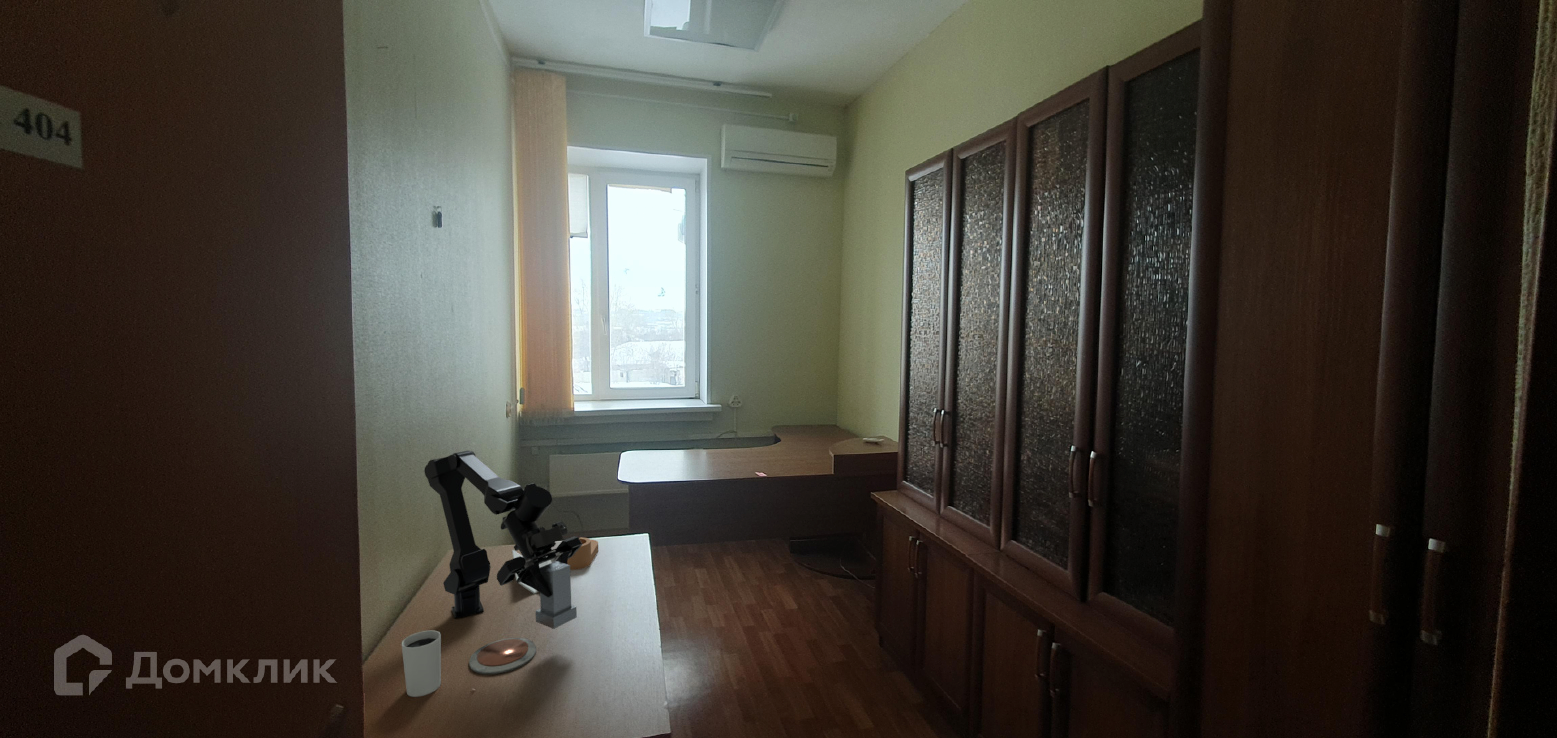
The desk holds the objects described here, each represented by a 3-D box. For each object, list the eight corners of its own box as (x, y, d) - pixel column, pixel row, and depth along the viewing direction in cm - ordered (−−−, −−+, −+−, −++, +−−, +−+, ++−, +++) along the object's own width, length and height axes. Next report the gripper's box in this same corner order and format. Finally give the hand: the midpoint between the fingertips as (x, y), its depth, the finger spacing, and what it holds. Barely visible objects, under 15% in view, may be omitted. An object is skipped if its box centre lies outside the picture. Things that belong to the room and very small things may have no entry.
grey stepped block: (535, 621, 132) (534, 568, 131) (558, 610, 137) (557, 559, 136) (553, 629, 128) (552, 574, 127) (576, 617, 133) (575, 564, 133)
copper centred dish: (465, 652, 131) (465, 647, 131) (528, 635, 139) (528, 629, 138) (474, 681, 121) (473, 675, 120) (542, 661, 128) (541, 655, 128)
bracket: (587, 569, 176) (587, 546, 176) (558, 571, 176) (557, 547, 175) (600, 547, 194) (600, 526, 194) (574, 548, 193) (573, 527, 193)
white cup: (415, 678, 122) (412, 631, 121) (449, 677, 122) (447, 629, 122) (396, 699, 115) (394, 648, 114) (433, 697, 116) (430, 647, 115)
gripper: (502, 524, 125) (538, 588, 120) (575, 502, 141) (610, 557, 136) (481, 554, 130) (515, 616, 125) (554, 529, 145) (587, 583, 140)
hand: (559, 591), depth 131 cm, fingers closed on grey stepped block, 4 cm apart
